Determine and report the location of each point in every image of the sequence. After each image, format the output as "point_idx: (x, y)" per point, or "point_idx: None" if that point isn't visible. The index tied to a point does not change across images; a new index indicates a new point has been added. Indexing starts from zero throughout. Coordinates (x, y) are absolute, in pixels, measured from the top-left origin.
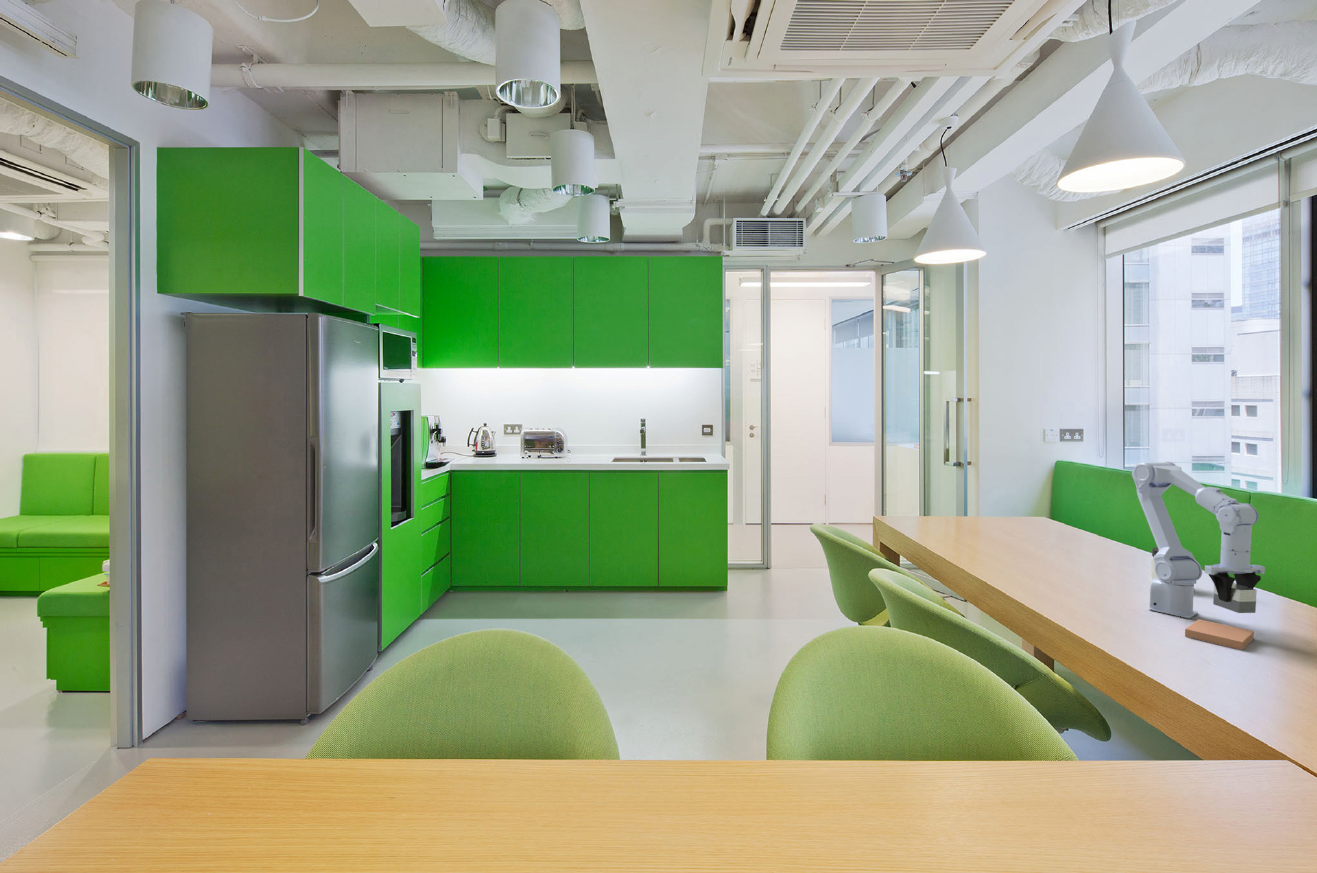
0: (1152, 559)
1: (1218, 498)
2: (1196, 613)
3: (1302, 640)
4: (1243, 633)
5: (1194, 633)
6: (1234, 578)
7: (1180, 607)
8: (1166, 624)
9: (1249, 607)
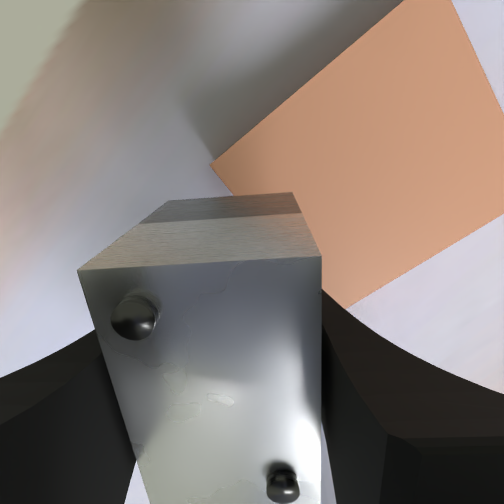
0: None
1: None
2: None
3: (9, 147)
4: (296, 127)
5: None
6: (431, 443)
7: None
8: (434, 320)
9: (207, 206)
